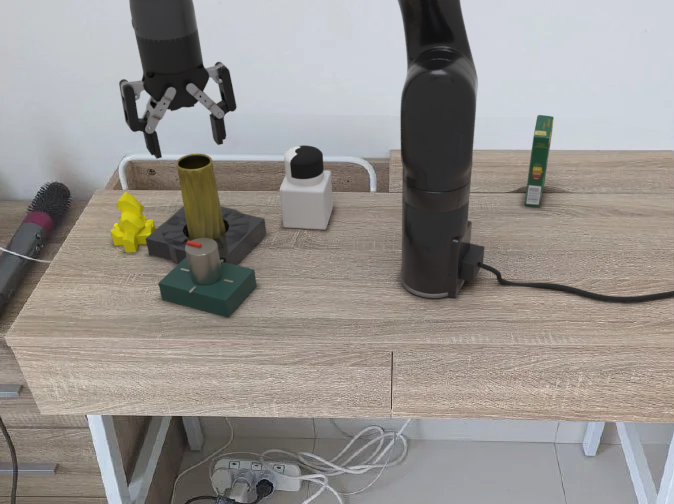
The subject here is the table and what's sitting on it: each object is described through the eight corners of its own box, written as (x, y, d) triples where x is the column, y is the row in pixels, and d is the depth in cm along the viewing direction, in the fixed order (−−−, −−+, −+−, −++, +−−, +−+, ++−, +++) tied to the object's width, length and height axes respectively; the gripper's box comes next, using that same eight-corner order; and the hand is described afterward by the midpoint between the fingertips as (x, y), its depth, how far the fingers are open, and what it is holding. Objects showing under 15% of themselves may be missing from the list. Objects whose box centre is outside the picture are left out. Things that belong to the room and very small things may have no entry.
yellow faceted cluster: (111, 253, 121) (99, 209, 116) (121, 225, 127) (110, 182, 122) (150, 251, 121) (139, 207, 116) (158, 224, 127) (148, 181, 122)
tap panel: (258, 285, 115) (255, 267, 113) (227, 318, 109) (224, 300, 107) (193, 269, 118) (190, 251, 116) (160, 301, 112) (156, 283, 110)
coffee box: (540, 209, 132) (550, 136, 123) (523, 207, 132) (532, 134, 124) (544, 186, 138) (554, 115, 129) (528, 184, 138) (537, 113, 130)
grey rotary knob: (228, 270, 112) (222, 239, 109) (211, 287, 109) (205, 256, 106) (201, 264, 114) (195, 233, 110) (185, 280, 110) (178, 249, 107)
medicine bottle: (333, 208, 132) (329, 141, 124) (326, 230, 126) (321, 162, 118) (291, 205, 132) (285, 139, 124) (282, 228, 127) (275, 160, 119)
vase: (181, 250, 122) (164, 167, 112) (202, 230, 126) (187, 149, 117) (216, 258, 120) (201, 174, 111) (235, 238, 124) (223, 155, 115)
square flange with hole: (268, 232, 126) (266, 216, 124) (225, 276, 116) (222, 260, 115) (194, 215, 130) (191, 199, 128) (146, 257, 120) (142, 240, 118)
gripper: (114, 46, 90) (144, 173, 101) (231, 26, 96) (248, 148, 106) (99, 26, 95) (129, 149, 106) (211, 8, 101) (229, 127, 111)
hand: (188, 149), depth 106 cm, fingers open, 8 cm apart
